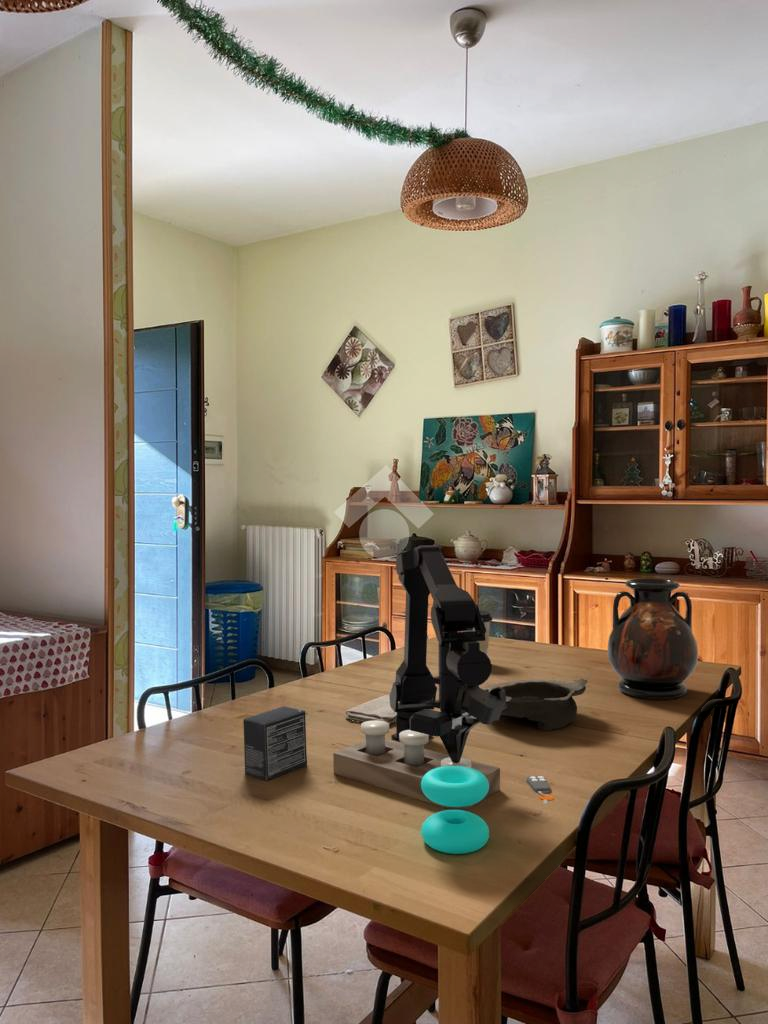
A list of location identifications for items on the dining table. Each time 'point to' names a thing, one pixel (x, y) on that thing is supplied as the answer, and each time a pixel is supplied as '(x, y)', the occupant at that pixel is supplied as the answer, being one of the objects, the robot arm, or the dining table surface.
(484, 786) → the donuts
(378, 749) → the knob
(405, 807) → the dining table surface
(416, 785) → the mount
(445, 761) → the knob
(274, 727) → the small box
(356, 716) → the washcloth
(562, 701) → the stone bowl
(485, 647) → the coffee cup
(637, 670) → the amphora vase
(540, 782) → the key chain
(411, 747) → the knob middle
